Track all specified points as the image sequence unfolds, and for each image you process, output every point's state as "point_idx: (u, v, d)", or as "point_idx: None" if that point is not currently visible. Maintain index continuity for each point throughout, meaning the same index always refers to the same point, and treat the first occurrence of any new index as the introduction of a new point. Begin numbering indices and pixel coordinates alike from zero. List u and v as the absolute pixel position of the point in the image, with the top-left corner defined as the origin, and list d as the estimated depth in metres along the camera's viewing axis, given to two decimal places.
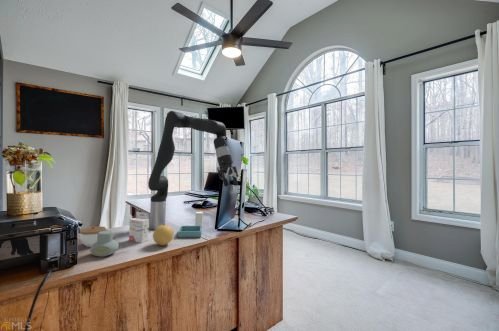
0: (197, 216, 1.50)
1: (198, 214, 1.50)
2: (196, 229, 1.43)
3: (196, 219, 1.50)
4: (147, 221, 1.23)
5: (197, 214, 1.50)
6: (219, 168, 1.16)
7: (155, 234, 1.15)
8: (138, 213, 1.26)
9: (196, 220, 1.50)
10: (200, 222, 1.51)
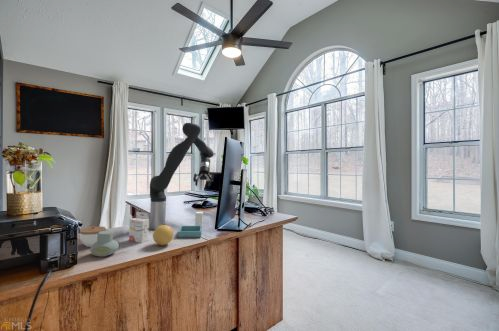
0: (197, 216, 1.50)
1: (198, 214, 1.51)
2: (196, 229, 1.43)
3: (196, 219, 1.50)
4: (147, 221, 1.23)
5: (197, 214, 1.50)
6: None
7: (155, 234, 1.15)
8: (138, 213, 1.26)
9: (196, 220, 1.50)
10: (200, 222, 1.51)
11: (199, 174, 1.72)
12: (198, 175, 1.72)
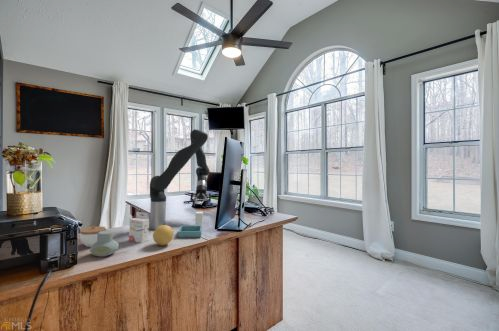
0: (197, 216, 1.50)
1: (198, 214, 1.50)
2: (196, 229, 1.43)
3: (196, 219, 1.50)
4: (147, 221, 1.23)
5: (197, 214, 1.50)
6: (210, 195, 1.70)
7: (155, 234, 1.15)
8: (138, 213, 1.26)
9: (196, 220, 1.50)
10: (200, 222, 1.51)
11: (196, 193, 1.67)
12: (195, 194, 1.67)
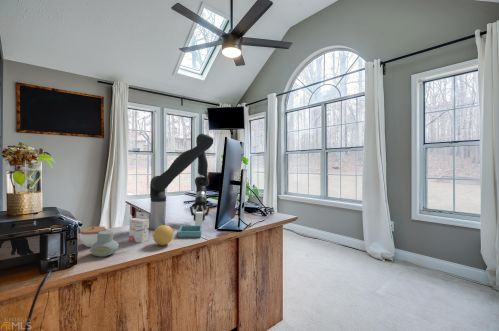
0: (197, 216, 1.50)
1: (198, 214, 1.50)
2: (196, 229, 1.43)
3: (196, 219, 1.50)
4: (147, 221, 1.23)
5: (197, 214, 1.50)
6: (209, 209, 1.59)
7: (155, 234, 1.15)
8: (138, 213, 1.26)
9: (196, 220, 1.50)
10: (200, 222, 1.51)
11: (195, 206, 1.58)
12: (194, 207, 1.57)
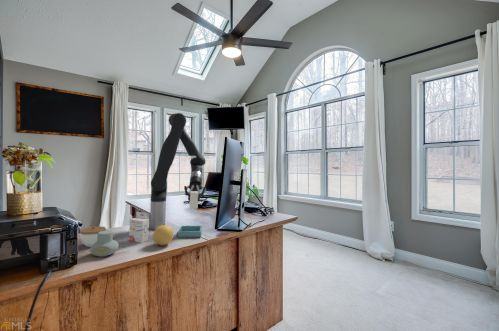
0: (192, 195, 1.39)
1: (193, 193, 1.39)
2: (196, 229, 1.43)
3: (191, 199, 1.39)
4: (147, 221, 1.23)
5: (192, 193, 1.39)
6: (205, 189, 1.48)
7: (155, 234, 1.15)
8: (138, 213, 1.26)
9: (191, 199, 1.39)
10: (195, 202, 1.40)
11: (190, 185, 1.47)
12: (189, 187, 1.46)
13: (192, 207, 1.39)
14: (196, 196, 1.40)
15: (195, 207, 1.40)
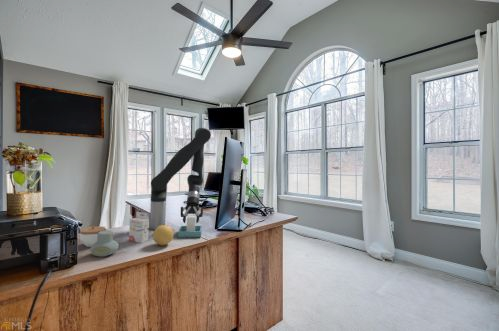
0: (188, 221, 1.35)
1: (190, 218, 1.35)
2: (196, 229, 1.43)
3: (187, 224, 1.35)
4: (147, 221, 1.23)
5: (188, 218, 1.35)
6: None
7: (155, 234, 1.15)
8: (138, 213, 1.26)
9: (188, 225, 1.35)
10: (192, 227, 1.35)
11: (186, 207, 1.42)
12: (185, 208, 1.42)
13: None
14: (193, 221, 1.36)
15: None
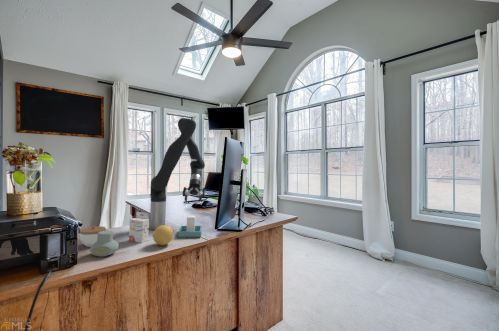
0: (188, 221, 1.35)
1: (190, 218, 1.35)
2: (196, 229, 1.43)
3: (187, 224, 1.35)
4: (147, 221, 1.23)
5: (188, 218, 1.35)
6: (204, 190, 1.58)
7: (155, 234, 1.15)
8: (138, 213, 1.26)
9: (188, 225, 1.35)
10: (192, 227, 1.35)
11: (189, 188, 1.55)
12: (188, 189, 1.55)
13: None
14: (193, 221, 1.36)
15: None
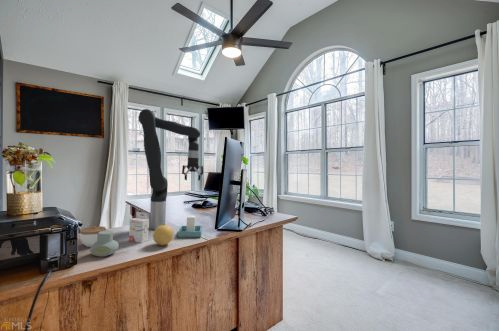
0: (188, 221, 1.35)
1: (190, 218, 1.35)
2: (196, 229, 1.43)
3: (187, 224, 1.35)
4: (147, 221, 1.23)
5: (188, 218, 1.35)
6: None
7: (155, 234, 1.15)
8: (138, 213, 1.26)
9: (188, 225, 1.35)
10: (192, 227, 1.35)
11: (188, 166, 1.60)
12: (187, 167, 1.60)
13: None
14: (193, 221, 1.36)
15: None
